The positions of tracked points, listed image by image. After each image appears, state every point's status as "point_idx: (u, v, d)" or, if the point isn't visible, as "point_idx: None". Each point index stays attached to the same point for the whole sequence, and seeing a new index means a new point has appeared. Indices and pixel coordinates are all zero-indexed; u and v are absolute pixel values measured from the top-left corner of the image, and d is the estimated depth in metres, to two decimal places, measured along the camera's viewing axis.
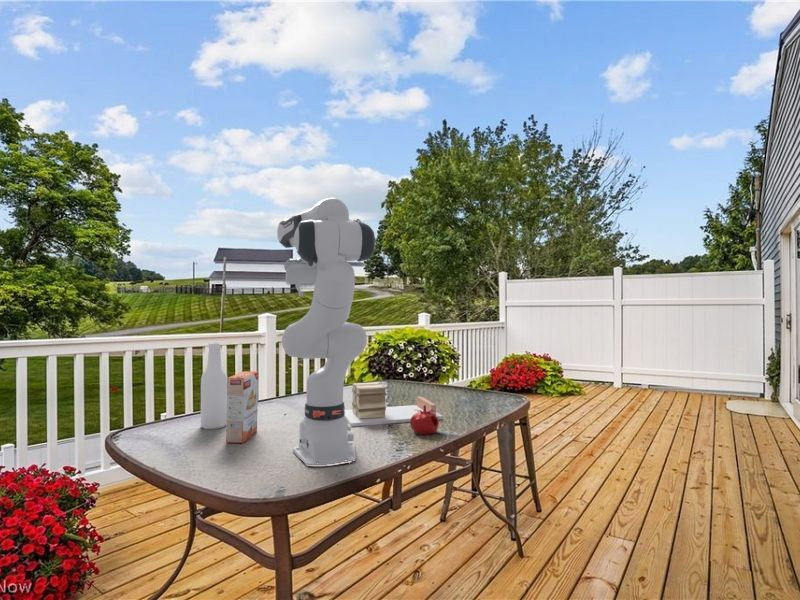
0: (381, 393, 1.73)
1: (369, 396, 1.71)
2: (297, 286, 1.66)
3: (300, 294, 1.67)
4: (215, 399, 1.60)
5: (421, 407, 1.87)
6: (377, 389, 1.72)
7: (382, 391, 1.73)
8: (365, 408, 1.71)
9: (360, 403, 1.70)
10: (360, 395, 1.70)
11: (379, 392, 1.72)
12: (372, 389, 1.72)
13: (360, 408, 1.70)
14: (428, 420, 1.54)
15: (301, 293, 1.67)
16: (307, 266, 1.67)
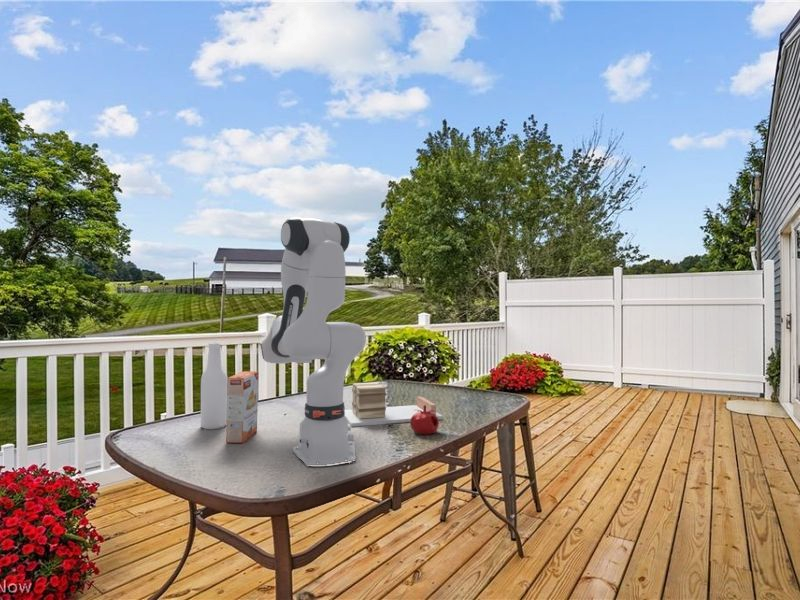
0: (381, 393, 1.73)
1: (369, 396, 1.71)
2: None
3: None
4: (215, 399, 1.60)
5: (421, 407, 1.87)
6: (377, 389, 1.72)
7: (382, 391, 1.73)
8: (365, 408, 1.71)
9: (360, 403, 1.70)
10: (360, 395, 1.70)
11: (379, 392, 1.72)
12: (372, 389, 1.72)
13: (360, 408, 1.70)
14: (428, 420, 1.54)
15: None
16: None
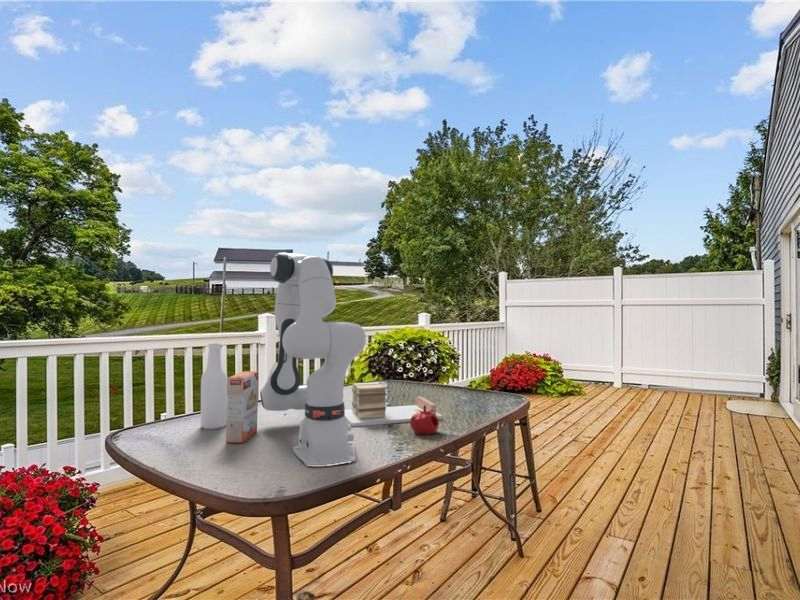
0: (381, 393, 1.73)
1: (369, 396, 1.71)
2: None
3: None
4: (215, 399, 1.60)
5: (421, 407, 1.87)
6: (377, 389, 1.72)
7: (382, 391, 1.73)
8: (365, 408, 1.71)
9: (360, 403, 1.70)
10: (360, 395, 1.70)
11: (379, 392, 1.72)
12: (372, 389, 1.72)
13: (360, 408, 1.70)
14: (428, 420, 1.54)
15: None
16: None
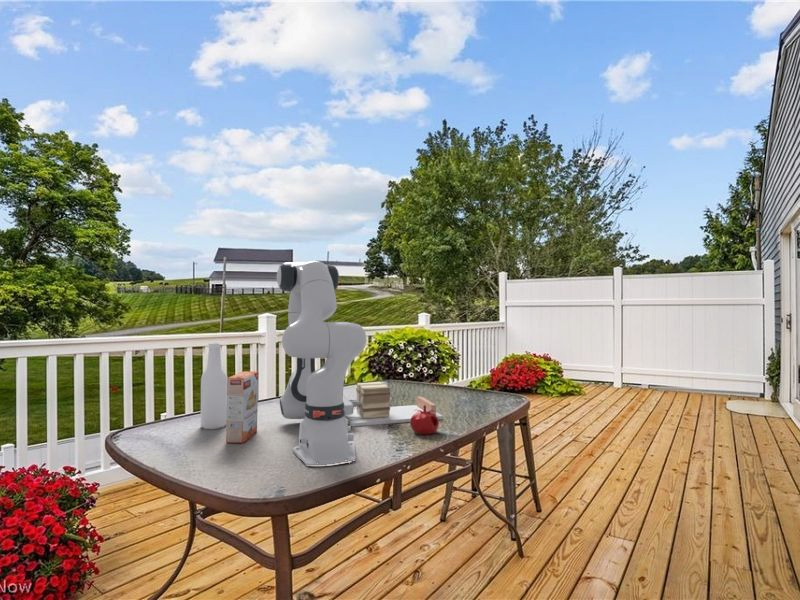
0: (386, 393, 1.73)
1: (373, 396, 1.72)
2: (351, 401, 1.73)
3: (358, 401, 1.75)
4: (215, 399, 1.60)
5: (421, 407, 1.87)
6: (381, 389, 1.73)
7: (386, 391, 1.73)
8: (369, 408, 1.71)
9: (364, 403, 1.71)
10: (364, 395, 1.70)
11: (383, 392, 1.73)
12: (376, 389, 1.72)
13: (364, 408, 1.71)
14: (428, 420, 1.54)
15: (357, 401, 1.75)
16: None
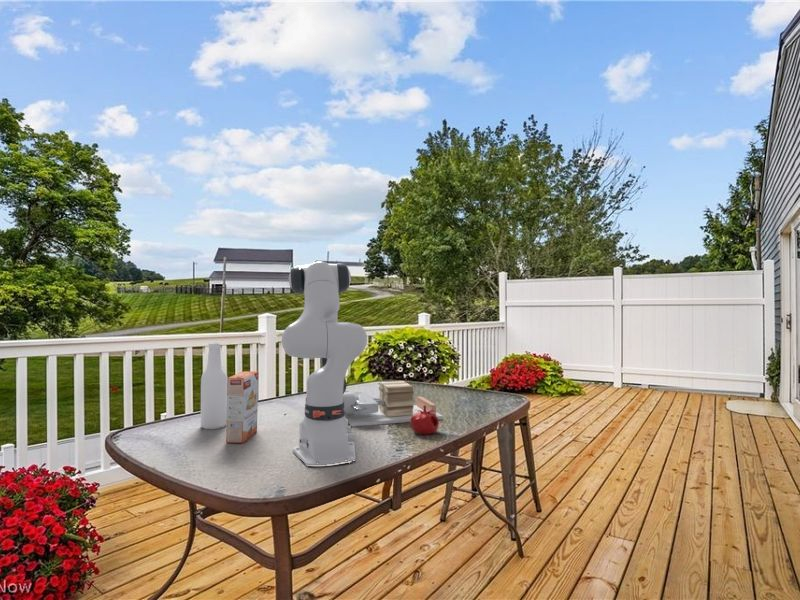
0: (409, 392, 1.76)
1: (397, 394, 1.75)
2: (375, 400, 1.76)
3: (382, 399, 1.78)
4: (215, 399, 1.60)
5: (421, 407, 1.87)
6: (405, 387, 1.76)
7: (410, 389, 1.76)
8: (393, 406, 1.74)
9: (389, 401, 1.74)
10: (389, 393, 1.73)
11: (407, 390, 1.76)
12: (400, 387, 1.75)
13: (389, 406, 1.74)
14: (428, 420, 1.54)
15: (381, 399, 1.78)
16: (357, 399, 1.74)
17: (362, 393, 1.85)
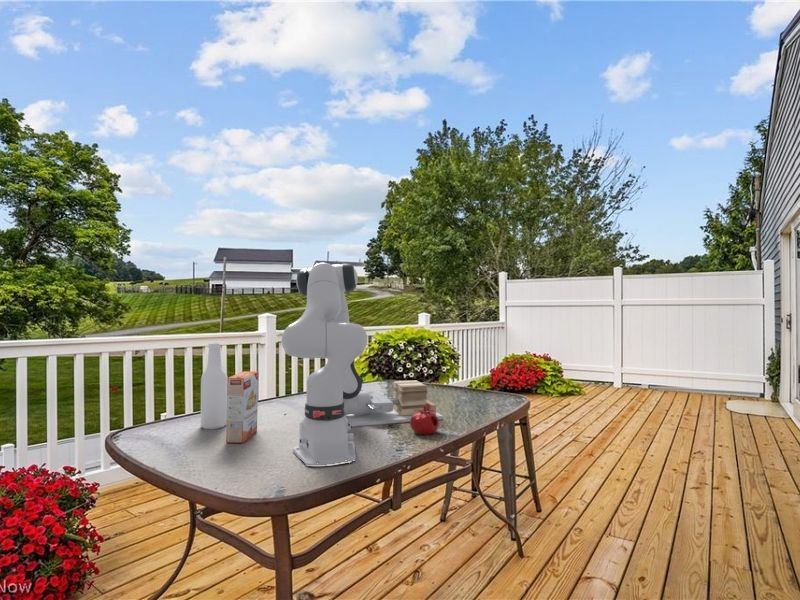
0: (423, 391, 1.78)
1: (411, 393, 1.76)
2: (390, 399, 1.78)
3: (396, 398, 1.80)
4: (215, 399, 1.60)
5: None
6: (419, 387, 1.77)
7: (424, 389, 1.78)
8: (408, 405, 1.76)
9: (403, 400, 1.75)
10: (403, 392, 1.75)
11: (421, 390, 1.78)
12: (414, 387, 1.77)
13: (403, 405, 1.75)
14: (428, 420, 1.54)
15: (395, 398, 1.80)
16: (372, 398, 1.75)
17: (376, 392, 1.87)
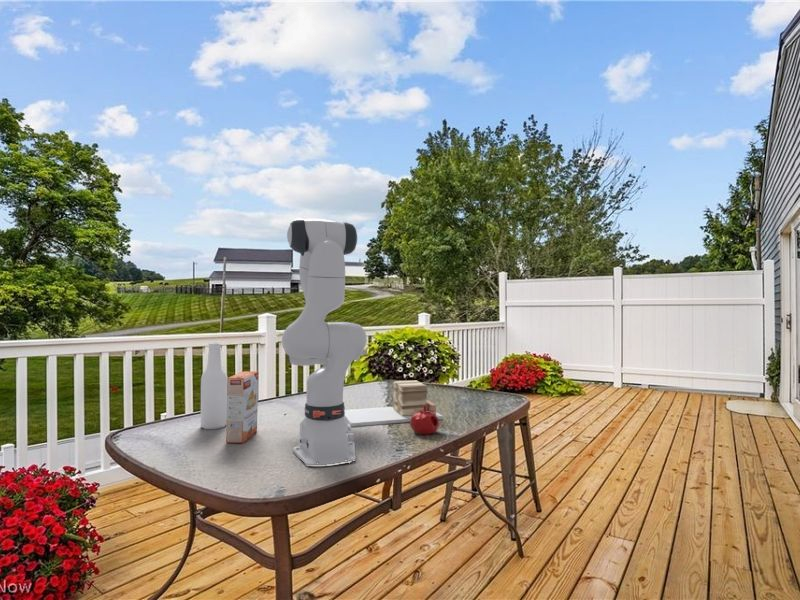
0: (423, 391, 1.78)
1: (411, 393, 1.76)
2: None
3: (365, 350, 1.76)
4: (215, 399, 1.60)
5: None
6: (419, 387, 1.77)
7: (424, 389, 1.78)
8: (408, 405, 1.76)
9: (403, 400, 1.75)
10: (403, 392, 1.75)
11: (421, 390, 1.78)
12: (414, 387, 1.77)
13: (403, 405, 1.75)
14: (428, 420, 1.54)
15: (363, 349, 1.76)
16: None
17: None
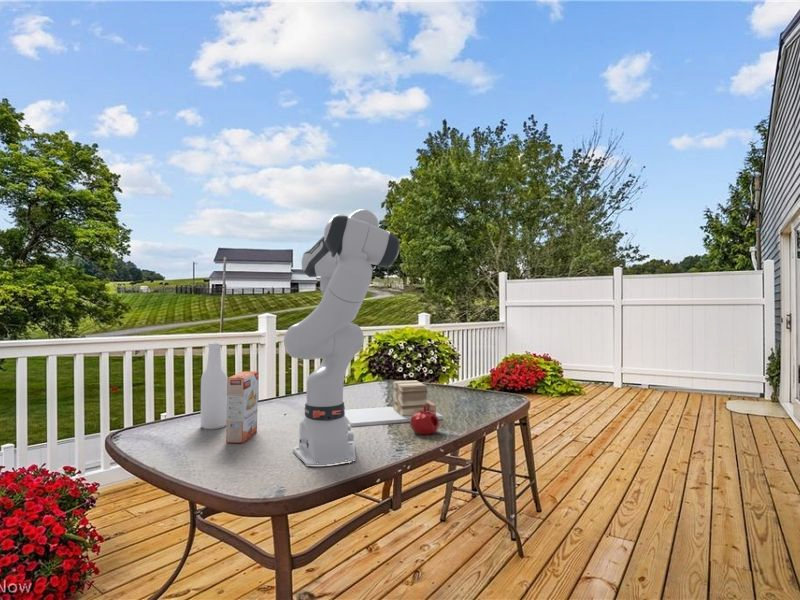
0: (423, 391, 1.78)
1: (411, 393, 1.76)
2: None
3: None
4: (215, 399, 1.60)
5: None
6: (419, 387, 1.77)
7: (424, 389, 1.78)
8: (408, 405, 1.76)
9: (403, 400, 1.75)
10: (403, 392, 1.75)
11: (421, 390, 1.78)
12: (414, 387, 1.77)
13: (403, 405, 1.75)
14: (428, 420, 1.54)
15: None
16: None
17: None
